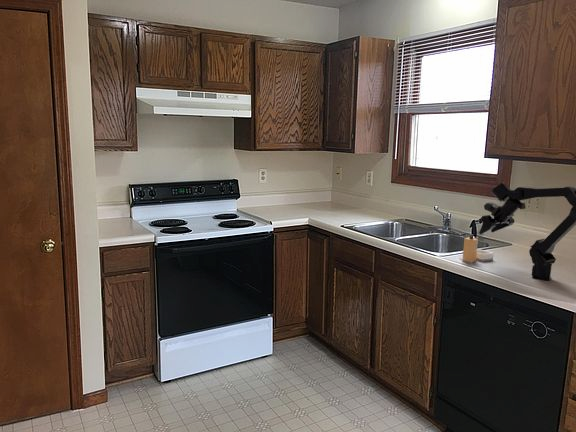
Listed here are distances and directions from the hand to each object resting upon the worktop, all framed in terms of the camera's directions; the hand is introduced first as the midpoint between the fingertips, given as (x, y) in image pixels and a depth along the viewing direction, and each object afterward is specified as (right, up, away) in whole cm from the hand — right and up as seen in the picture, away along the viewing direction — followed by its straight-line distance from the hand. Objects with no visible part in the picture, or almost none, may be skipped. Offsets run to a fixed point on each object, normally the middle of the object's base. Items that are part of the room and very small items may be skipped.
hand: (485, 232), depth 220 cm
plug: (-6, -13, +4) cm, 15 cm away
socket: (+1, -13, +7) cm, 15 cm away
